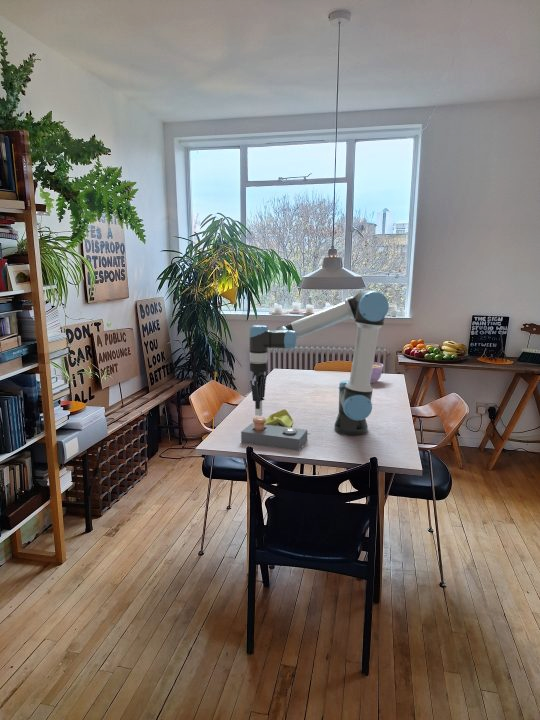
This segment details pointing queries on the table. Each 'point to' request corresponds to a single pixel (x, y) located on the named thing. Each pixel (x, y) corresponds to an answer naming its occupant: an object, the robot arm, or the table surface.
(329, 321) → the robot arm
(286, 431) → the grey button
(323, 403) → the table surface
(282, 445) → the block
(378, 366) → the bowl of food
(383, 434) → the table surface
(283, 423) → the yellow-green crumpled fabric
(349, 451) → the table surface
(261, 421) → the terracotta button
